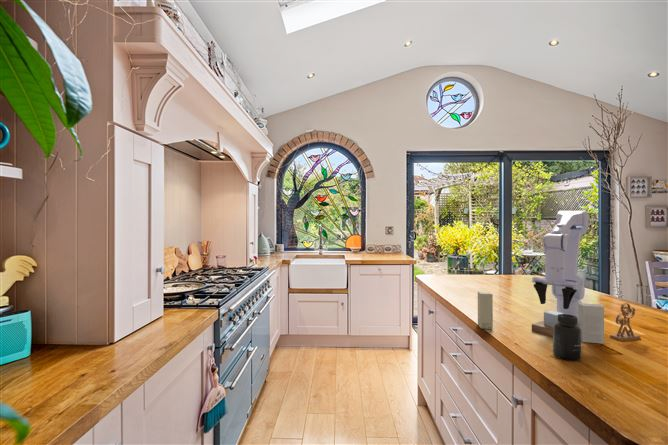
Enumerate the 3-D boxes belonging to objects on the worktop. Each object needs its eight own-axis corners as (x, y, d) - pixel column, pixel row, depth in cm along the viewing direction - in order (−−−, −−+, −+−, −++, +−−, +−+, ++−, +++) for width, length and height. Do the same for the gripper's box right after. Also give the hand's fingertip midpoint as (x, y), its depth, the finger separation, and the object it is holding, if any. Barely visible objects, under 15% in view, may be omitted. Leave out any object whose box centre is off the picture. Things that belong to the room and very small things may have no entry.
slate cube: (550, 322, 122) (550, 310, 122) (564, 326, 118) (564, 313, 118) (543, 324, 120) (543, 312, 119) (557, 328, 116) (557, 315, 116)
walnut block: (546, 327, 126) (546, 319, 125) (576, 335, 117) (576, 327, 117) (531, 332, 120) (531, 323, 120) (561, 341, 112) (562, 332, 112)
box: (493, 329, 121) (493, 294, 121) (480, 328, 122) (480, 293, 122) (489, 325, 127) (489, 291, 126) (477, 324, 127) (477, 290, 127)
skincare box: (598, 339, 112) (599, 304, 112) (604, 344, 108) (604, 307, 107) (577, 337, 114) (577, 302, 113) (582, 342, 110) (582, 305, 109)
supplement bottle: (582, 363, 93) (583, 321, 93) (553, 358, 97) (553, 317, 97) (580, 355, 99) (580, 314, 99) (552, 350, 103) (553, 311, 102)
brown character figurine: (621, 341, 110) (622, 305, 110) (609, 337, 114) (609, 302, 114) (641, 339, 113) (641, 303, 112) (628, 335, 116) (628, 300, 116)
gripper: (527, 265, 123) (527, 302, 123) (571, 271, 110) (571, 312, 110) (538, 264, 126) (537, 300, 126) (582, 269, 114) (581, 309, 114)
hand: (554, 306), depth 119 cm, fingers open, 7 cm apart
